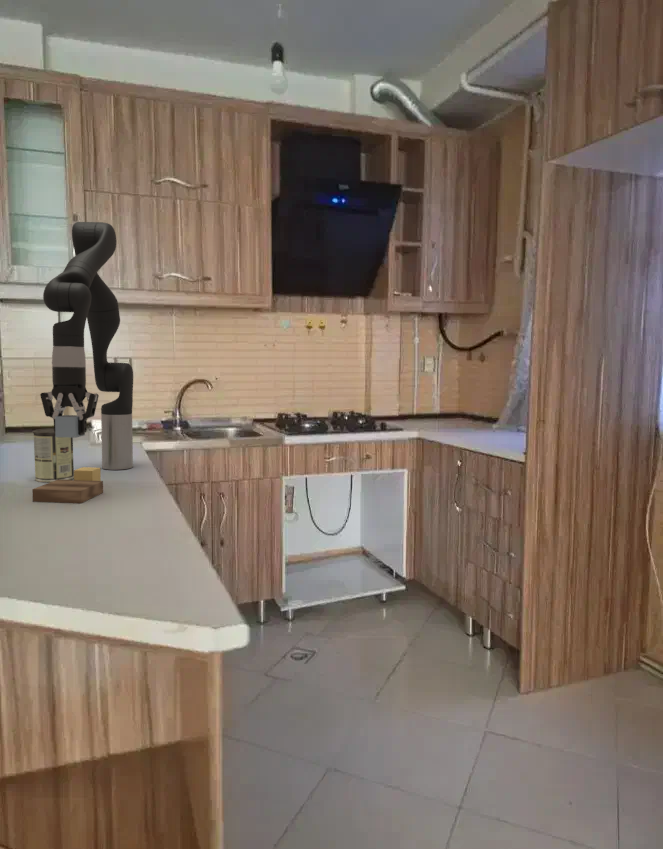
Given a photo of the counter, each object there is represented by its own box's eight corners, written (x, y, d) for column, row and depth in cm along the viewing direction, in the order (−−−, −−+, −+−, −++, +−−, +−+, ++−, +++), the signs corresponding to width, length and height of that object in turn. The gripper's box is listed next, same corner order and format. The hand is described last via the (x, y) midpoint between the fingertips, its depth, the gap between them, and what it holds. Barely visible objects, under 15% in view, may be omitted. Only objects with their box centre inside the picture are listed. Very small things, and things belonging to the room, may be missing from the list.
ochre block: (82, 485, 165) (82, 467, 165) (100, 485, 165) (100, 467, 164) (74, 488, 160) (73, 470, 160) (92, 489, 160) (92, 471, 159)
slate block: (65, 434, 152) (65, 415, 151) (84, 435, 151) (84, 415, 151) (55, 437, 147) (55, 416, 146) (75, 437, 146) (75, 417, 146)
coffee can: (47, 474, 178) (46, 427, 176) (80, 476, 177) (79, 428, 175) (26, 481, 168) (25, 431, 166) (61, 483, 167) (60, 432, 165)
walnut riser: (58, 490, 157) (58, 479, 157) (103, 492, 156) (102, 481, 156) (32, 501, 145) (32, 489, 145) (81, 503, 144) (81, 490, 144)
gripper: (104, 366, 151) (105, 433, 152) (48, 365, 152) (49, 432, 153) (90, 366, 143) (91, 437, 145) (32, 364, 144) (33, 435, 146)
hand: (70, 434), depth 149 cm, fingers closed on slate block, 5 cm apart
